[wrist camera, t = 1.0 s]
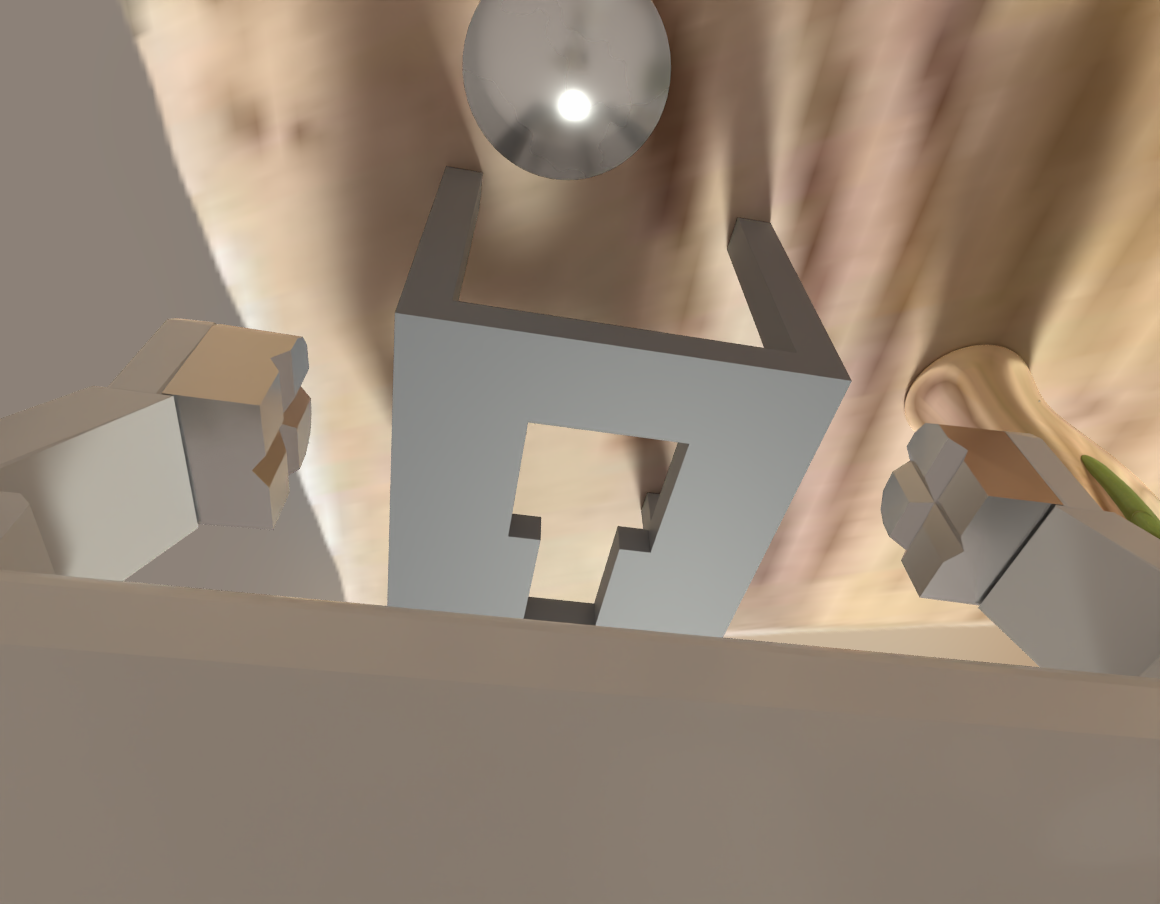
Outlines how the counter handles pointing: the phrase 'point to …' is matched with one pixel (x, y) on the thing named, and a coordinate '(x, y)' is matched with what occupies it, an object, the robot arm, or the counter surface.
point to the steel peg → (566, 81)
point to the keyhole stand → (604, 404)
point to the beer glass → (1024, 423)
